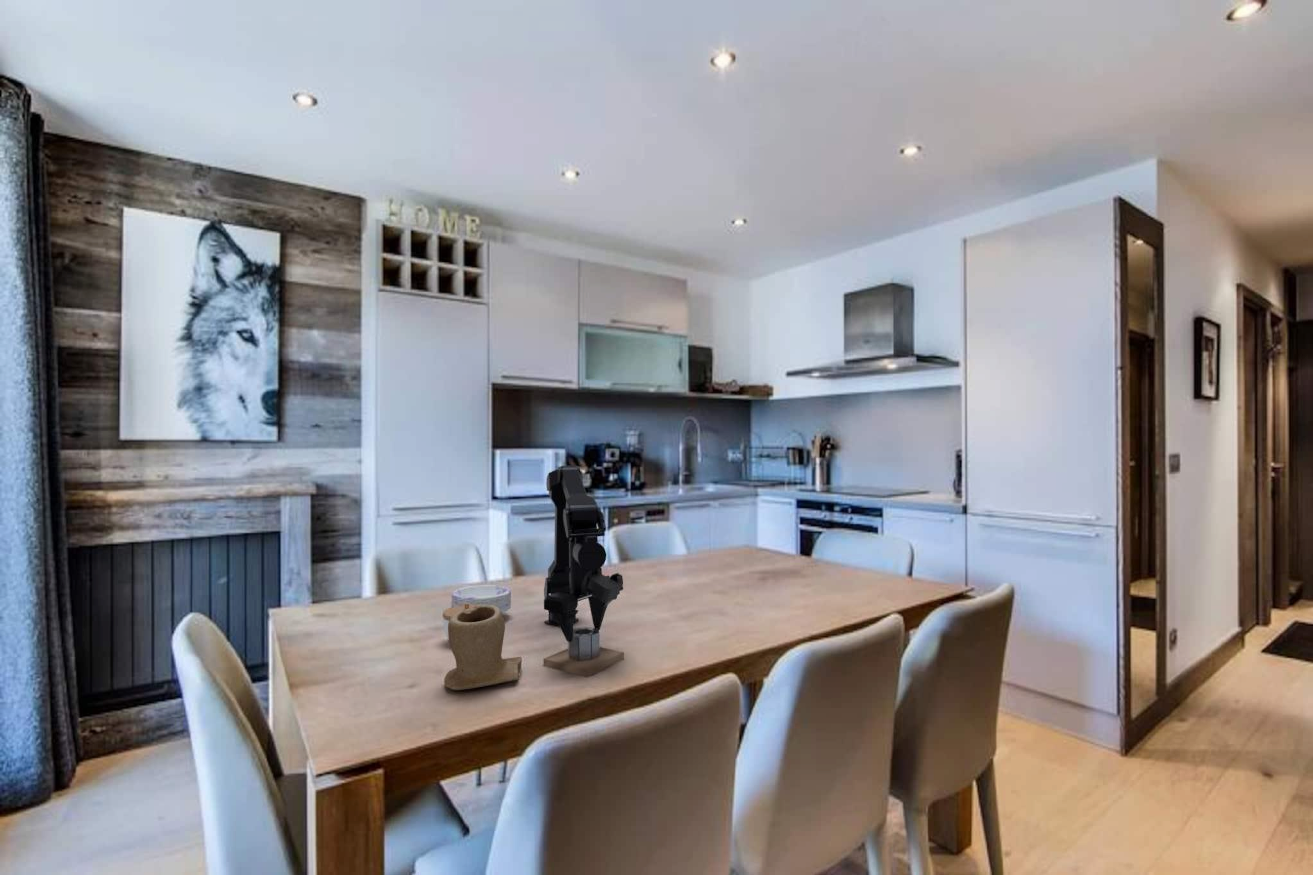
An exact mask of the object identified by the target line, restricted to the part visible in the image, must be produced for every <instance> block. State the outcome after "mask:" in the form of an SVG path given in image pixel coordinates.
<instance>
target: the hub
mask: <svg viewBox="0 0 1313 875" xmlns="http://www.w3.org/2000/svg"><path fill="white" fill-rule="evenodd" d="M567 643H568V644H567V645H568V646H567V649H568V656H569V658H570V659H573V660H577V661H584V660H592V659H595V658H597V657H599V656H600V649H599V647H600V630H598V629H597V628H594V627H592V626H591V627H590V626H584V627H583V626H582V627H573V638H572V642H568V641H567Z"/></svg>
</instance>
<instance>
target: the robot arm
mask: <svg viewBox="0 0 1313 875" xmlns="http://www.w3.org/2000/svg"><path fill="white" fill-rule="evenodd" d="M583 479H584V477H583V471H582V470H581V468H580V466H577V465H575V464H574V465H560V466H558V467H557V469H555V470H552V471H549V472H548V474H547V477H546V479H545V480H546V483H545V484H546V491H547V492H548V495H549V497H550V499H551V501H552V503H553V505H554V548H553V550H554V552H553V553H554V558H553V560H552V563H551V564H550V566H548V569H547V577H545V581H544V586H543V594H544V595H543V596H544V599H543V609H544V610H545V611H548V619H547V620H545V621H544V624H547V625H552V626H557V627H559V628H560V630H561V632H562V634H563V636H564V639H565V640H566V642H567V643H568V642H572V638H573V629H574V623H576V622H577V623H578V621H580V619H579V618H576V615H577V614H578V612H579V610H578V609H577V607H578V606H579V602H580V601H583V600H586V599H588V604H589V609H590V615H591V619H592V624H593V628H597V629H598V630H599V631H600V630H601V627H602V623H603V620H604V617H605V614H606V610H607V608H608V606H609V604H611V602H612V601H615V600H617V599H618V595H620V594H621V593H620V592H621V591H623V590H624V587H623V585H624V578H623V575H622V574H620V573H619V572H616V573H613V574H611V575H604V574H603V571H602V570H603V569H602V567H603V565H604V564H606V563H605V562H606V561H607V552H606V549H605V547H604V546H603V545H602V544H601V543H599V542H598V537H605V536H606V534H605V533H606V530H607V526H606V521H605V517H604V512H602V508H601V507H599V505H598V503H597V500H596V499H595V498H593V497H592V496H589V495H588V494H587V492H586V491H587V490H586V488H585V486H584V480H583Z"/></svg>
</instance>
